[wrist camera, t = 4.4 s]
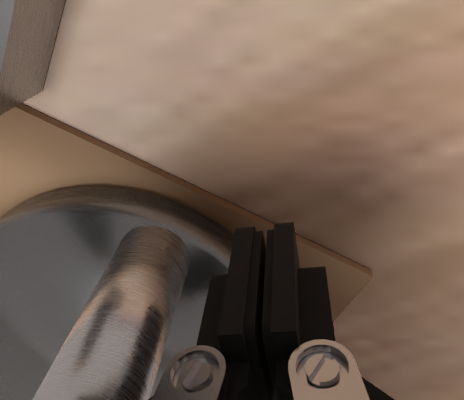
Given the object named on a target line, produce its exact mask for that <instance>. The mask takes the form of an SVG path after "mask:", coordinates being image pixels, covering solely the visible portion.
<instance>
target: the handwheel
mask: <svg viewBox="0 0 464 400" xmlns="http://www.w3.org/2000/svg"><path fill="white" fill-rule="evenodd" d="M233 239H234V235H233V234H232V233H231V232H229V231H228V230H227V229H225V228H224V227H223V226H222V225H220V224H218V223H217V222H215V221H213V220H212V219H210V218H208V217H207V216H205V215H203V214H202V213H200V212H198V211H196V210H193V209H191V208H189V207H187V206H185V205H182V204H180V203H178V202H175V201H172V200H169V199H166V198H163V197H160V196H157V195H154V194H150V193H145V192H141V191H136V190H131V189H125V188H114V187H104V186H98V187H75V188H69V189H62V190H56V191H53V192H49V193H46V194H43V195H39V196H36V197H34V198H32V199H30V200H27V201H25V202H23V203H21V204H19V205H17V206H16V207H14V208H13V209H11V210H10V211H9V212H7V213H6V214H4V215H3V216H2V217H1V218H0V400H148V399H150V398H151V397H152V396H153V395H154V393H155V391H156V389H157V386H158V384H159V382H160V380H161V377H162V375H163V373H164V371H165V369H166V367H167V365H168V364H169V362H170V360H171V359H172V358H173V357H174V356H175V355H176V354H178V353H179V352H181V351H183V350H184V349H186V348H189V347H193V346H196V344H197V339H198V335H199V330H200V326H201V321H202V316H203V312H204V307H205V303H206V298H207V293H208V289H209V284H210V280H211V277H212V276H213V275H221V274H228V268H229V263H230V257H231V251H232V245H233ZM275 400H276V399H275Z"/></svg>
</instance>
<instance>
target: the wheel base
mask: <svg viewBox="0 0 464 400" xmlns="http://www.w3.org/2000/svg"><path fill="white" fill-rule="evenodd" d="M98 186H104V187H114V188H125V189H131V190H136V191H141V192H145V193H150V194H154V195H157V196H160V197H163V198H166V199H169V200H172V201H175V202H178V203H180V204H182V205H185V206H187V207H189V208H191V209H193V210H196V211H198V212H200V213H202V214H203V215H205V216H207V217H208V218H210V219H212V220H213V221H215V222H217V223H218V224H220V225H222V226H223V227H224V228H225V229H227V230H228V231H229V232H231V233H232V234H233V235H234V233H235V229H236V228H242V227H252V226H255V228H256V231H263V234H264V239H265V245H266V241H267V230H273V229H274V223H271V222H269V221H267V220H265V219H263V218H261V217H259V216H257V215H255V214H253V213H250V212H248V211H246V210H244V209H242V208H240V207H238V206H236V205H234V204H232V203H229V202H227V201H225V200H223V199H221V198H219V197H217V196H215V195H213V194H211V193H208V192H206V191H204V190H202V189H200V188H198V187H196V186H194V185H192V184H190V183H187V182H185V181H183V180H181V179H179V178H177V177H175V176H173V175H171V174H169V173H167V172H164V171H162V170H160V169H158V168H156V167H154V166H152V165H150V164H148V163H146V162H143V161H141V160H139V159H137V158H135V157H133V156H131V155H129V154H127V153H125V152H122V151H120V150H118V149H116V148H114V147H112V146H110V145H108V144H106V143H104V142H101V141H99V140H97V139H95V138H93V137H91V136H89V135H87V134H85V133H83V132H80V131H78V130H76V129H74V128H72V127H70V126H68V125H66V124H64V123H62V122H59V121H57V120H55V119H53V118H51V117H49V116H47V115H45V114H43V113H41V112H38V111H36V110H34V109H32V108H30V107H28V106H26V105H24V104H22V103H21V104H19V105H17V106H16V107H14V108H12V109H11V110H9V111H7V112H5V113H4V114H2V115H0V218H1V217H2V216H3V215H4V214H6V213H7V212H9V211H10V210H11V209H13V208H14V207H16V206H17V205H19V204H21V203H23V202H25V201H27V200H30V199H32V198H34V197H36V196H39V195H43V194H46V193H49V192H53V191H56V190H62V189H69V188H75V187H98ZM295 236H296V243H297V250H298V257H299V265H300V268H309V267H321V266H325V267H326V274H327V282H328V290H329V297H330V305H331V313H332V321H334V320H335V318H336V317H337V316H338V315H339V314H340V313H341V312H342V311H343V309H344V308H345V307H346V306H347V305H348V304H349V303H350V302H351V300H352V299H353V298H354V297H355V296H356V295H357V294H358V293H359V291H360V290H361V289H362V288H363V287H364V286H365V285H366V284H367V282H368V281H369V280H370V279H371V278H372V277H373V275H372V272H371V270H370V269H368V268H366V267H364V266H362V265H360V264H358V263H355V262H353V261H351V260H349V259H347V258H345V257H343V256H341V255H339V254H337V253H334V252H332V251H330V250H328V249H326V248H324V247H322V246H320V245H318V244H316V243H313V242H311V241H309V240H307V239H305V238H303V237H301V236H299V235H297V234H295Z"/></svg>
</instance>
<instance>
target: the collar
mask: <svg viewBox="0 0 464 400" xmlns="http://www.w3.org/2000/svg"><path fill="white" fill-rule="evenodd" d="M64 4H65V0H0V115H2V114H4V113H5V112H7V111H9V110H11V109H12V108H14V107H16V106H17V105H19V104H21V103H23V102H24V101H26V100H28V99H29V98H31V97H33V96H35V95H36V94H38V93H40V92H41V91H42V90H43V86H44V82H45V78H46V74H47V71H48V67H49V63H50V59H51V55H52V51H53V47H54V43H55V39H56V35H57V31H58V27H59V23H60V19H61V16H62V12H63V8H64Z"/></svg>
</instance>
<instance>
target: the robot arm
mask: <svg viewBox="0 0 464 400" xmlns="http://www.w3.org/2000/svg"><path fill="white" fill-rule="evenodd" d="M275 399H276V400H394V399H393V398H391V397H390V396H388V395H387V394H386V393H384V392H383V391H381V390H380V389H378V388H377V387H375V386H374V385H373V384H371V383H370V382H368V381H367V380H365V379H364V378H362V377H361V374H360V372H359V369H358V366H357V363H356V361H355V359H354V357H353V355H352V354H351V352H350V351H349V350H348V349H347V348H346V347H344V346H343V345H341V344H339V343H337V342H335V336H334V328H333V321H332V313H331V305H330V297H329V290H328V282H327V274H326V267H325V266H321V267H309V268H300V265H299V257H298V250H297V243H296V236H295V229H294V223H293V222H292V223H282V224H274V229H273V230H267V241H266V245H265V239H264V234H263V231H256V228H255V226H252V227H242V228H236V229H235V233H234V239H233V245H232V251H231V257H230V263H229V268H228V274H221V275H213V276H212V277H211V280H210V284H209V289H208V293H207V298H206V303H205V307H204V312H203V316H202V321H201V326H200V330H199V335H198V339H197V344H196V346H193V347H189V348H186V349H184V350H183V351H181V352H179V353H178V354H176V355H175V356H174V357H173V358H172V359H171V360H170V362H169V364H168V365H167V367H166V369H165V371H164V373H163V375H162V377H161V380H160V382H159V384H158V386H157V389H156V391H155V393H154V395H153V396H152V397H151V398H150V399H148V400H275Z"/></svg>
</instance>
